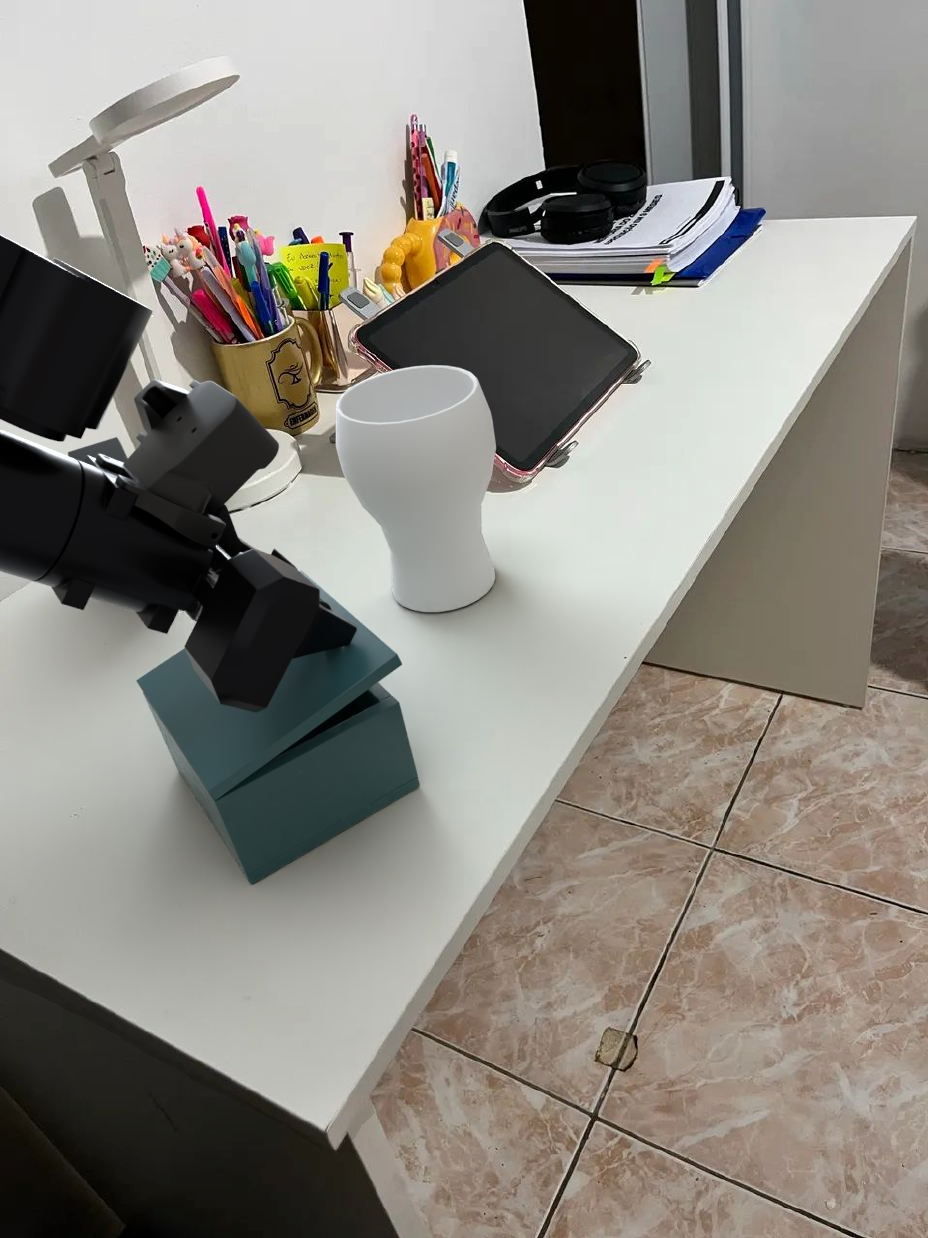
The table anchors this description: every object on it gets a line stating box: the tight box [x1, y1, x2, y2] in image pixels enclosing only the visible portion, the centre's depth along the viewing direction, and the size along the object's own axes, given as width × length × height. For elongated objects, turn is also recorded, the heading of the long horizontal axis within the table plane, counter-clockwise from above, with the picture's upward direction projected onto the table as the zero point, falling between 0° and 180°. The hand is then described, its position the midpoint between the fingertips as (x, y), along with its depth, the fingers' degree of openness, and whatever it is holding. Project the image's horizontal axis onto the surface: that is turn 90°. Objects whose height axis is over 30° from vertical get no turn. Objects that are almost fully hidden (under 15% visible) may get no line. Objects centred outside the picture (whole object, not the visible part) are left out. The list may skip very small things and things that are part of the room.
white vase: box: [335, 364, 497, 613], centre depth 66 cm, size 11×11×15 cm
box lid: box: [136, 570, 403, 800], centre depth 51 cm, size 11×12×4 cm
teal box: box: [142, 682, 421, 885], centre depth 54 cm, size 11×12×6 cm
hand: (329, 615), depth 52 cm, fingers closed on box lid, 5 cm apart
